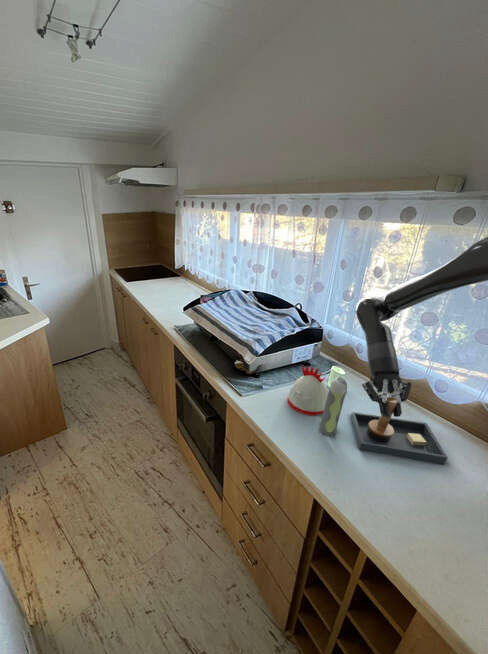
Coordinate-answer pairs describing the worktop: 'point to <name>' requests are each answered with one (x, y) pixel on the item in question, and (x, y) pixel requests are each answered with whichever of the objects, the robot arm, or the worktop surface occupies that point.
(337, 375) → the light green cylinder
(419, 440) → the cream flat block
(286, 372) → the worktop surface
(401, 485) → the worktop surface
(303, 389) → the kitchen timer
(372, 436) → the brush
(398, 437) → the tray
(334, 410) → the grey green rod
